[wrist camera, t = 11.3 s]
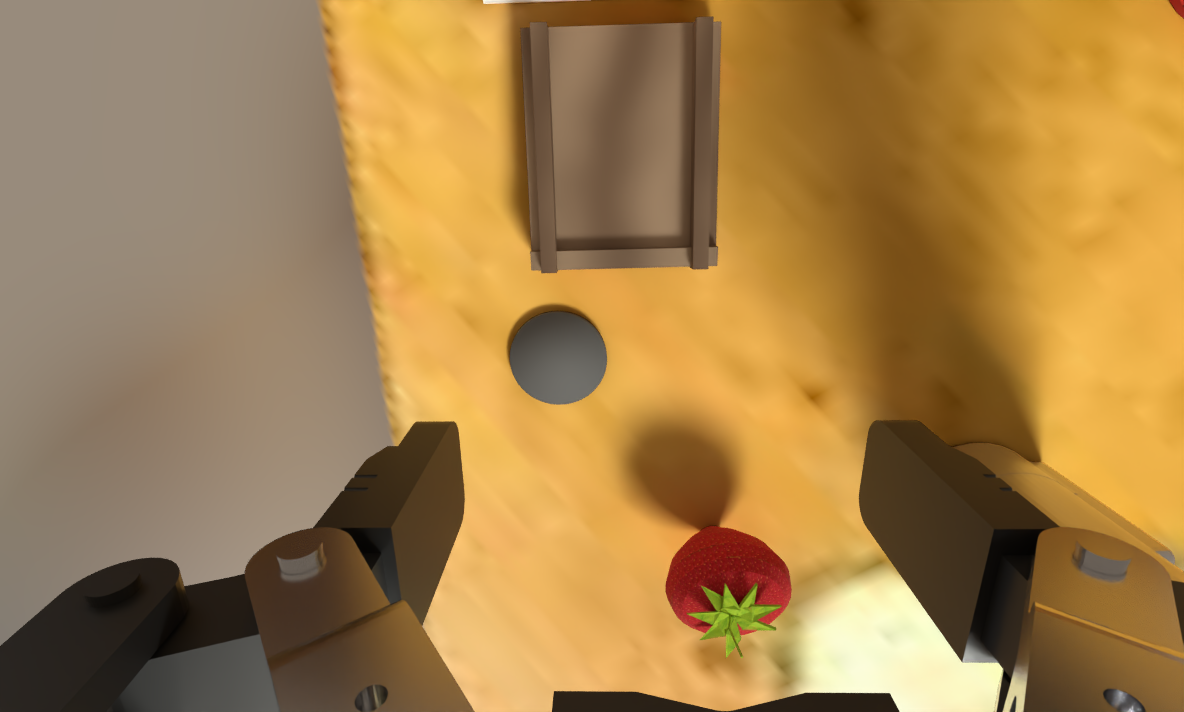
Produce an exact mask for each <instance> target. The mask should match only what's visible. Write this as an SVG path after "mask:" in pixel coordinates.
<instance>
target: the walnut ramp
mask: <svg viewBox="0 0 1184 712" xmlns="http://www.w3.org/2000/svg"><path fill="white" fill-rule="evenodd" d="M521 48H522V68H523V89H524V109H525V129H526V149H527V169H528V189H529V210H530V230H531V252H530V254H531V270H541V273H557V271H558V270H571V269H611V268H651V267H690V268H692V269H708V266H717V258H718V247H717V246H716V220H717V177H718V134H719V91H720V48H721V22H713V17H697V18H696V20H695V22H692V23H660V24H629V25H598V26H566V27H548V26H547V22H530V28H521Z"/></svg>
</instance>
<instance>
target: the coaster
mask: <svg viewBox="0 0 1184 712" xmlns="http://www.w3.org/2000/svg"><path fill="white" fill-rule="evenodd" d="M510 365H511V369H512V373H513V375H514V377H515V379H516V381H517V383H518V384H519V385H520V386H521V388H522V389H523V390H524V391H525V392H526V393H528V394H529V395H530V396H532V397H534V398H535V399H537V400H540V401H542V402H545V403H550V404H569V403H573V402H576V401H579V400H581V399H583V398H585V397H586V396H588V395H589V394H590V393H592V392H593V391H594V390H595V389H596V388H597V386H598V385H599V384H600V382H601V380H602V378H603V376H604V373H605V370H606V365H607V354H606V347H605V344H604V341H603V339H602V337H601V335H600V333H599V332H598V331H597V329H596V328H595V327H594V326H593V325H592V324H591V323H590V322H588V321H587V320H586V319H584V318H582V317H581V316H578V315H576V314H573V313H570V312H564V311H551V312H546V313H542V314H540V315H537V316H535V317H533V318H532V319H530V320H529V321H527V322H526V323H525V324H524V325H523V326H522V327H521V328H520V330H519V331H518V332H517V334H516V336H515V338H514V340H513V343H512V346H511V350H510Z"/></svg>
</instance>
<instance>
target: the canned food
mask: <svg viewBox="0 0 1184 712" xmlns="http://www.w3.org/2000/svg"><path fill="white" fill-rule="evenodd" d="M1170 3H1171V4H1172V6H1173V7H1174V9H1175V10H1176V11H1177V13H1178V14H1179V15H1180V16H1181V17H1183V18H1184V0H1170Z"/></svg>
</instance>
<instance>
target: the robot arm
mask: <svg viewBox="0 0 1184 712" xmlns="http://www.w3.org/2000/svg"><path fill="white" fill-rule="evenodd" d="M464 502H465V496H464V483H463V472H462V462H461V451H460V441H459V432H458V427H457V425H456V423H455V422H415V423H414V424H413V426H412V427H411V429H410V430H409V432H408V433H407V434H406V436H405V437H404V439H403V440H402V441H401V443H400V444H399V446H387V447H386V448H384V449H383V450H381V451H379V452H378V453H376V454H375V455H373V456H371V457H370V458H368V459H367V460H366V461H365V462H364V463H363V465H362V466H361V467H360V469H359V470H358V471H357V472H356V474H355V477H354V478H352V479H351V480H350V481H349V483H348V484H347V485H346V486H345V490H344V491H342V492H341V493H340V494H339V496H338V497H337V498H336V499H335V501H334V502H333V503H332V504H331V506H330V507H329V508H328V509H327V511H326V512H325V513H324V515H323V516H322V517H321V519H320V520H319V521H318V522H317V524H316V525H315V526H314V527H313V528H310V529H304V530H300V531H296V532H293V533H290V534H287V535H285V536H282V537H280V538H278V539H276V540H274V541H272V542H270V543H269V544H267V545H265V546H264V547H263V548H261V549H260V550H259V551H258V552H257V553H255V555H253V557H252V558H251V559H250V560H249V562H248V564H247V565H246V568H245V574H242V575H238V576H234V577H229V578H224V579H219V580H214V581H209V582H204V583H199V584H194V585H189V586H184V584H183V581H182V577H181V574H180V570H179V568H178V566H177V564H176V563H174V562H173V561H171V560H168V559H163V558H144V559H143V558H142V559H136V560H131V561H127V562H123V563H119V564H116V565H113V566H110V567H107V568H105V569H102V570H100V571H98V572H95V573H93V574H91V575H89V576H87V577H85V578H83V579H82V580H80V581H78V582H76V583H75V584H73V585H72V586H71V587H69V588H67V589H66V590H65V591H64V592H62V593H61V594H60V595H59V596H57V597H56V598H55V599H54V600H53V601H52V602H51V603H49V604H48V605H47V606H46V607H45V608H44V609H42V610H41V611H40V612H39V613H38V614H37V615H35V616H34V617H33V618H32V619H31V620H30V621H28V622H27V623H26V624H25V625H24V626H23V627H22V628H20V629H19V630H18V631H17V632H16V633H15V634H14V635H12V636H11V637H10V638H9V639H8V640H7V641H5V642H4V643H3V644H2V645H1V646H0V712H474V710H473V708H472V707H471V705H470V703H469V702H468V700H467V699H466V697H465V695H464V694H463V692H462V690H461V689H460V687H459V686H458V684H457V682H456V681H455V679H454V677H453V676H452V674H451V673H450V671H449V669H448V668H447V666H446V664H445V663H444V661H443V660H442V658H441V656H440V655H439V653H438V651H437V650H436V648H435V647H434V645H433V643H432V642H431V640H430V638H429V637H428V635H427V633H426V632H425V630H424V629H423V627H422V625H423V622H424V620H425V617H426V615H427V612H428V609H429V607H430V604H431V602H432V599H433V597H434V594H435V591H436V589H437V586H438V584H439V581H440V578H441V576H442V573H443V571H444V568H445V565H446V563H447V560H448V558H449V555H450V553H451V550H452V547H453V545H454V542H455V540H456V537H457V534H458V532H459V529H460V527H461V524H462V520H463V514H464ZM859 506H860V512H861V516H862V519H863V521H864V523H865V525H866V527H867V528H868V530H869V531H870V533H871V534H872V536H873V537H874V538H875V540H876V541H877V543H878V544H879V545H880V547H881V548H882V550H883V551H884V552H885V554H886V555H887V557H888V558H889V560H890V561H891V562H892V564H893V565H894V567H895V568H896V569H897V571H898V572H899V574H900V575H901V577H902V578H903V579H904V581H905V582H906V584H907V585H908V586H909V588H910V589H911V591H912V592H913V593H914V595H915V596H916V598H917V599H918V601H919V602H920V603H921V605H922V606H923V608H924V609H925V610H926V612H927V613H928V615H929V616H930V618H931V619H932V620H933V622H934V623H935V625H936V626H937V627H938V629H939V630H940V632H941V633H942V634H943V636H944V637H945V639H946V640H947V642H948V643H949V644H950V646H951V647H952V649H953V650H954V651H955V653H956V654H957V656H958V657H959V659H960V660H961V661H962V662H975V663H999V664H1000V665H1001V667H1002V668H1003V670H1002V674H1001V678H1000V681H999V685H998V689H997V695H996V701H995V707H994V712H1184V571H1182V570H1181V569H1179V568H1178V567H1177V566H1175V565H1174V564H1175V558H1174V555H1173V553H1172V552H1171V551H1170V550H1169V549H1168V548H1167V547H1165V546H1164V545H1163V544H1161V543H1160V542H1158V541H1157V540H1155V539H1154V538H1152V537H1151V536H1149V535H1148V534H1147V533H1145V532H1144V531H1142V530H1141V529H1139V528H1138V527H1136V526H1135V525H1134V524H1132V523H1131V522H1129V521H1128V520H1126V519H1125V518H1123V517H1122V516H1120V515H1119V514H1118V513H1116V512H1115V511H1113V510H1112V509H1110V508H1109V507H1107V506H1106V505H1104V504H1103V503H1102V502H1100V501H1099V500H1097V499H1096V498H1094V497H1093V496H1091V495H1090V494H1088V493H1087V492H1086V491H1084V490H1083V489H1081V488H1080V487H1078V486H1077V485H1075V484H1074V483H1073V482H1071V481H1070V480H1068V479H1067V478H1065V477H1064V476H1062V475H1061V474H1059V473H1058V472H1057V471H1055V470H1054V469H1052V468H1051V467H1049V466H1048V465H1046V464H1045V463H1043V462H1030V461H1027V460H1026V459H1025V458H1023V457H1022V456H1020V455H1019V454H1017V453H1016V452H1015V451H1013V450H1011V449H1008V448H1006V447H1004V446H1001V445H996V444H991V443H970V444H964V445H959V446H955V447H951V446H949V445H947V444H946V443H945V442H944V441H942V440H941V439H940V438H939V437H938V436H936V435H935V434H934V433H933V432H932V431H931V430H929V429H928V428H927V427H926V426H925V425H923V424H922V423H921V422H919V421H917V420H890V421H874V422H873V423H872V425H871V427H870V429H869V432H868V438H867V444H866V451H865V458H864V464H863V471H862V478H861V484H860V491H859ZM552 712H899V710H898V708H897V706H896V704H895V702H894V701H893V699H892V697H891V695H890V693H804V694H799V695H795V696H791V697H787V698H783V699H779V700H775V701H771V702H767V703H762V704H758V705H754V706H750V707H746V708H742V709H738V710H734V711H717V710H712V709H708V708H703V707H699V706H695V705H690V704H686V703H682V702H677V701H673V700H669V699H664V698H660V697H656V696H652V695H647V694H643V693H639V692H585V691H554V696H553V707H552Z"/></svg>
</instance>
